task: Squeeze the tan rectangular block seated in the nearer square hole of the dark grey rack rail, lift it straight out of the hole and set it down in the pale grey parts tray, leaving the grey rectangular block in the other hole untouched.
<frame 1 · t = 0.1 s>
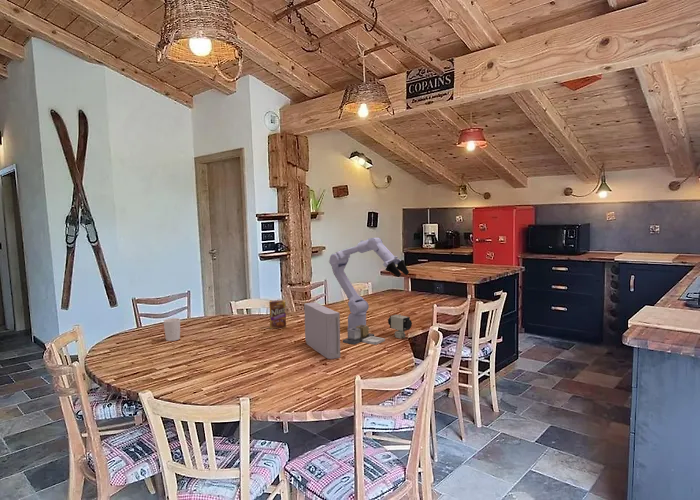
hand: (403, 274, 224), 32 cm above the table, tool tilted 50°, fingers open, 7 cm apart
game console: (321, 351, 210), on the table
grey rectangular block: (354, 341, 222), resting on rack rail
candy box: (278, 328, 252), on the table
rack rail: (358, 340, 225), on the table
white cup: (172, 339, 233), on the table
parts tray: (373, 342, 221), on the table
pneumatic valve: (400, 338, 228), on the table
tan rectangular block: (362, 337, 227), resting on rack rail
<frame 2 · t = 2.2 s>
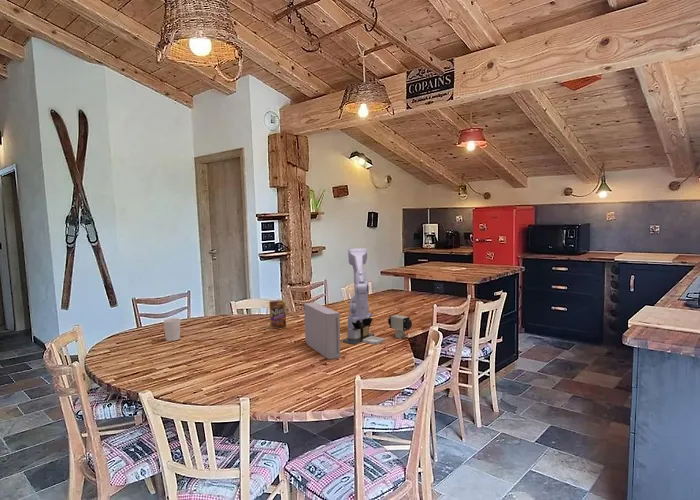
hand: (362, 333, 227), 2 cm above the table, tool pointing down, fingers open, 6 cm apart
grey rectangular block: (354, 341, 222), resting on rack rail, touching gripper
everything else where it was.
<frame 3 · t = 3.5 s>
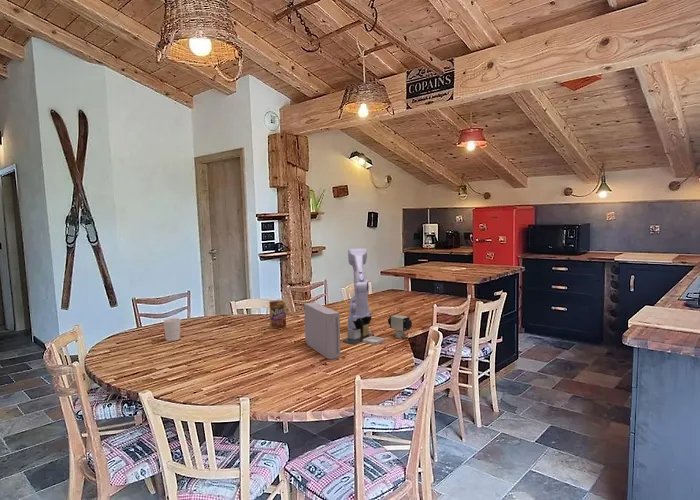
hand: (362, 332, 227), 3 cm above the table, tool pointing down, fingers closed on tan rectangular block, 4 cm apart
grey rectangular block: (354, 341, 222), resting on rack rail
tan rectangular block: (362, 335, 227), point 1 cm above the table, touching gripper
everything else where it was.
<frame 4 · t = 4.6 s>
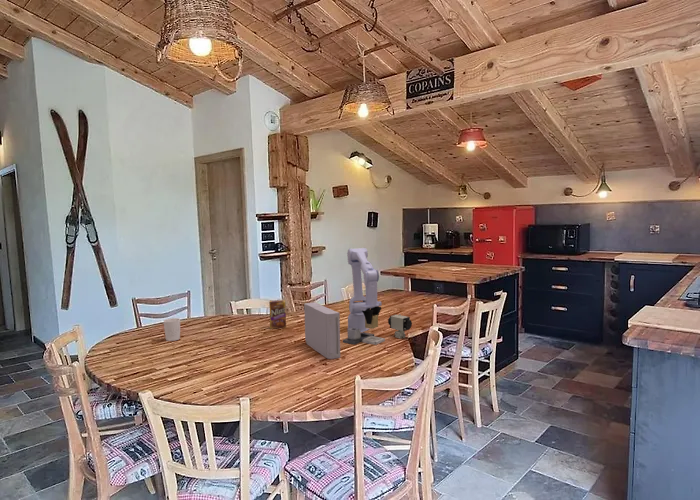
hand: (371, 322, 221), 10 cm above the table, tool pointing down, fingers closed on tan rectangular block, 4 cm apart
tan rectangular block: (371, 327, 221), point 7 cm above the table, touching gripper
everything else where it was.
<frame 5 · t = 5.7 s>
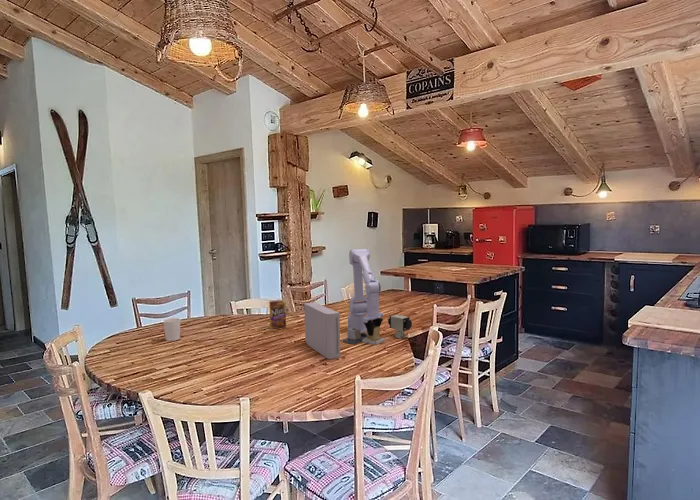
hand: (373, 334, 221), 4 cm above the table, tool pointing down, fingers closed on tan rectangular block, 4 cm apart
tan rectangular block: (373, 338, 221), point 2 cm above the table, touching gripper
everything else where it was.
when the fingers open (4 cm above the table, at t = 6.7 s): tan rectangular block stays where it is, resting on parts tray.
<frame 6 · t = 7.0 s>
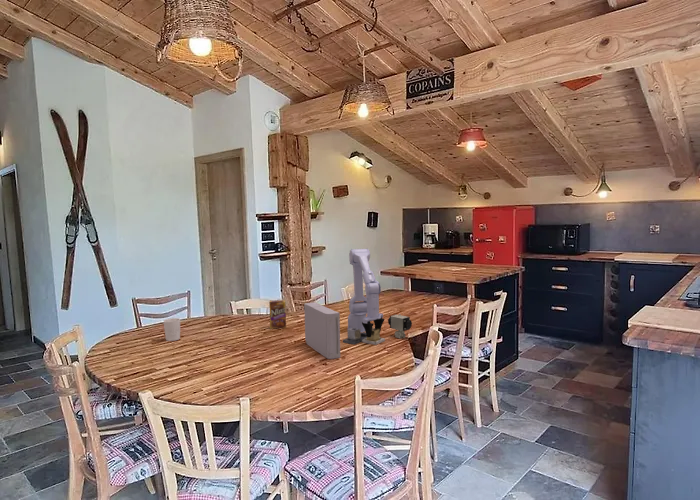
hand: (373, 335, 221), 4 cm above the table, tool pointing down, fingers open, 7 cm apart
tan rectangular block: (373, 341, 221), resting on parts tray
everything else where it was.
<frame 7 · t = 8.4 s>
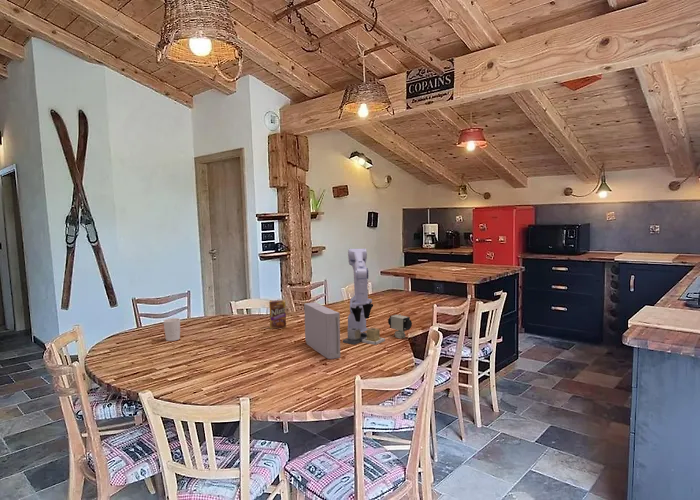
hand: (362, 319, 224), 10 cm above the table, tool pointing down, fingers open, 7 cm apart
nothing on the table moved.
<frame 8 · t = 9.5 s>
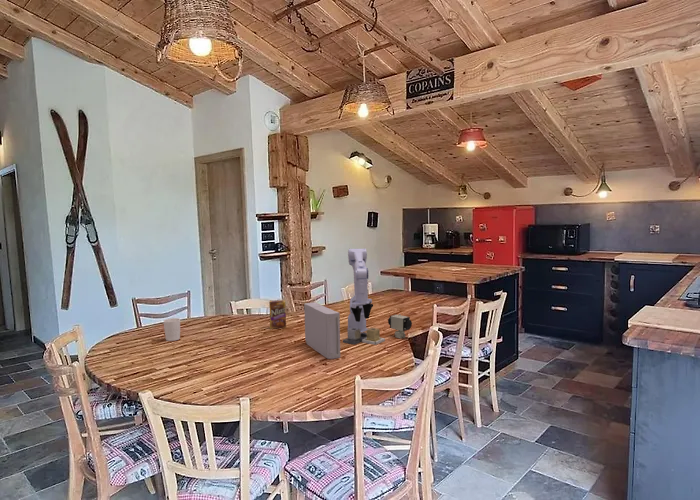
hand: (362, 319, 224), 10 cm above the table, tool pointing down, fingers open, 7 cm apart
nothing on the table moved.
at the end: tan rectangular block 0.2 cm off-centre on the parts tray, point 0.4 cm above the parts tray's base; tan rectangular block tilted 0°; the gripper is holding nothing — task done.
